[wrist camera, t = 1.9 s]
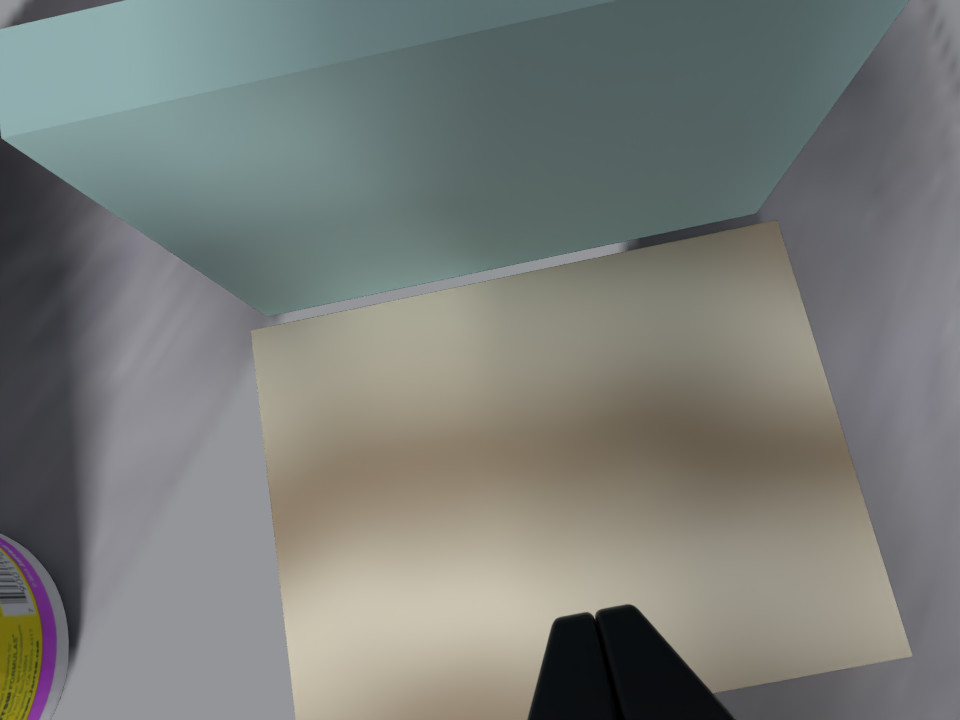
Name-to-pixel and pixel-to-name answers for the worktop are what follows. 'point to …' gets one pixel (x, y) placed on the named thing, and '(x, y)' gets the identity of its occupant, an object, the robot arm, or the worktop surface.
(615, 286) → the plate
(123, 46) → the panel
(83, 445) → the worktop surface
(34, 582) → the supplement bottle
